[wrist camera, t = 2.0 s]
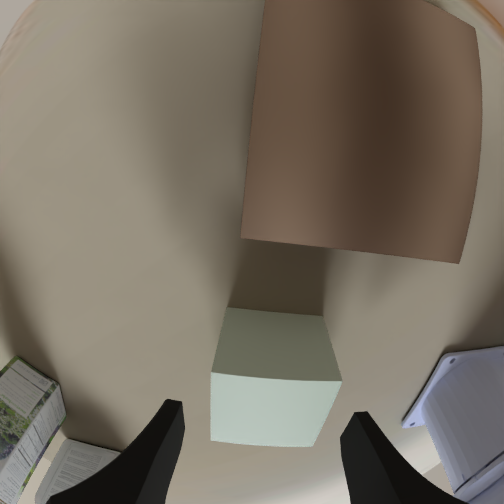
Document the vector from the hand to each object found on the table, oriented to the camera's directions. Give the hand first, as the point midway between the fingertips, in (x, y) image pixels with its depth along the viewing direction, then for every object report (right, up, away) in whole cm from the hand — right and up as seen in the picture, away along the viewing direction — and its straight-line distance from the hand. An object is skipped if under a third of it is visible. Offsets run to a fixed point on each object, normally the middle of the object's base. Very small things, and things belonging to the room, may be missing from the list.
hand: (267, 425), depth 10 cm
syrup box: (-21, -5, +9) cm, 23 cm away
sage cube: (0, +2, +5) cm, 6 cm away
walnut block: (+5, +14, +1) cm, 15 cm away
